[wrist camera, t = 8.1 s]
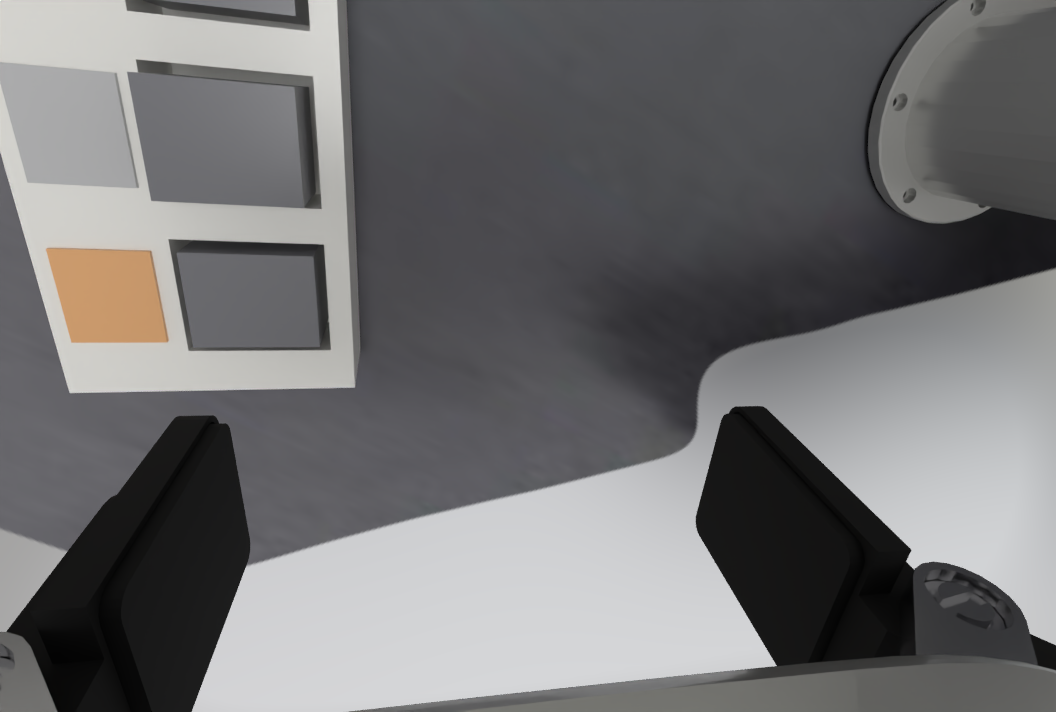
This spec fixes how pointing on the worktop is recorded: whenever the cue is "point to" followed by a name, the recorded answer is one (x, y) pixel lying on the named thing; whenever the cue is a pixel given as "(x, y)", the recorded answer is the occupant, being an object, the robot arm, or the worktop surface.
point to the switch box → (155, 226)
